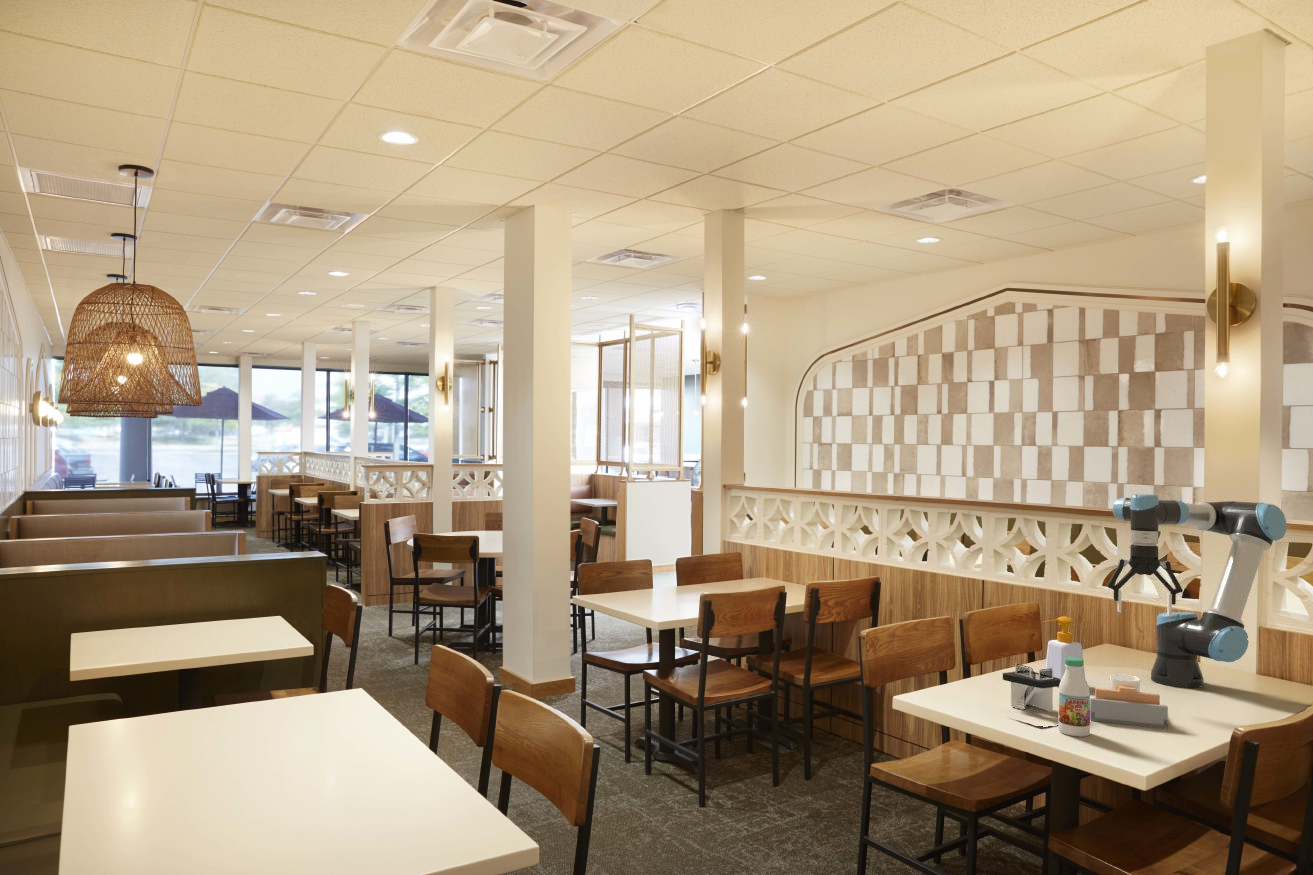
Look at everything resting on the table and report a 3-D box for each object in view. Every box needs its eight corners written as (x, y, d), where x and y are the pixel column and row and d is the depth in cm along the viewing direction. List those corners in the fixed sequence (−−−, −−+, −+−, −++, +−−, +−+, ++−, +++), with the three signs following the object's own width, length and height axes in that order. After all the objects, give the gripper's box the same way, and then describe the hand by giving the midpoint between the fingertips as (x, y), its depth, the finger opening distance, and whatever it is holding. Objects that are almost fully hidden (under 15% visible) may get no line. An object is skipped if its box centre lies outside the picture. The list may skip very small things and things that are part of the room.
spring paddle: (1158, 718, 245) (1158, 688, 245) (1160, 721, 242) (1160, 691, 243) (1094, 711, 251) (1094, 682, 251) (1096, 714, 248) (1096, 685, 248)
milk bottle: (1052, 728, 239) (1052, 655, 239) (1079, 727, 240) (1079, 655, 240) (1068, 737, 231) (1068, 662, 232) (1096, 737, 232) (1096, 661, 232)
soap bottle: (1031, 682, 287) (1031, 615, 288) (1065, 679, 292) (1065, 613, 292) (1053, 690, 278) (1053, 620, 279) (1087, 687, 283) (1087, 618, 283)
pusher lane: (1155, 710, 258) (1155, 689, 258) (1167, 728, 240) (1167, 706, 240) (1084, 702, 264) (1084, 682, 265) (1091, 720, 247) (1091, 699, 247)
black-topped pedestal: (962, 703, 263) (963, 659, 264) (1023, 695, 275) (1023, 652, 276) (1041, 728, 238) (1041, 679, 239) (1104, 718, 250) (1104, 671, 251)
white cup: (1133, 708, 255) (1133, 674, 255) (1145, 716, 247) (1145, 681, 247) (1104, 707, 256) (1104, 673, 256) (1115, 715, 248) (1116, 680, 248)
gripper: (1100, 543, 269) (1100, 612, 269) (1193, 547, 260) (1193, 618, 260) (1097, 541, 276) (1097, 608, 276) (1188, 545, 267) (1188, 614, 267)
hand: (1144, 613), depth 268 cm, fingers open, 13 cm apart
